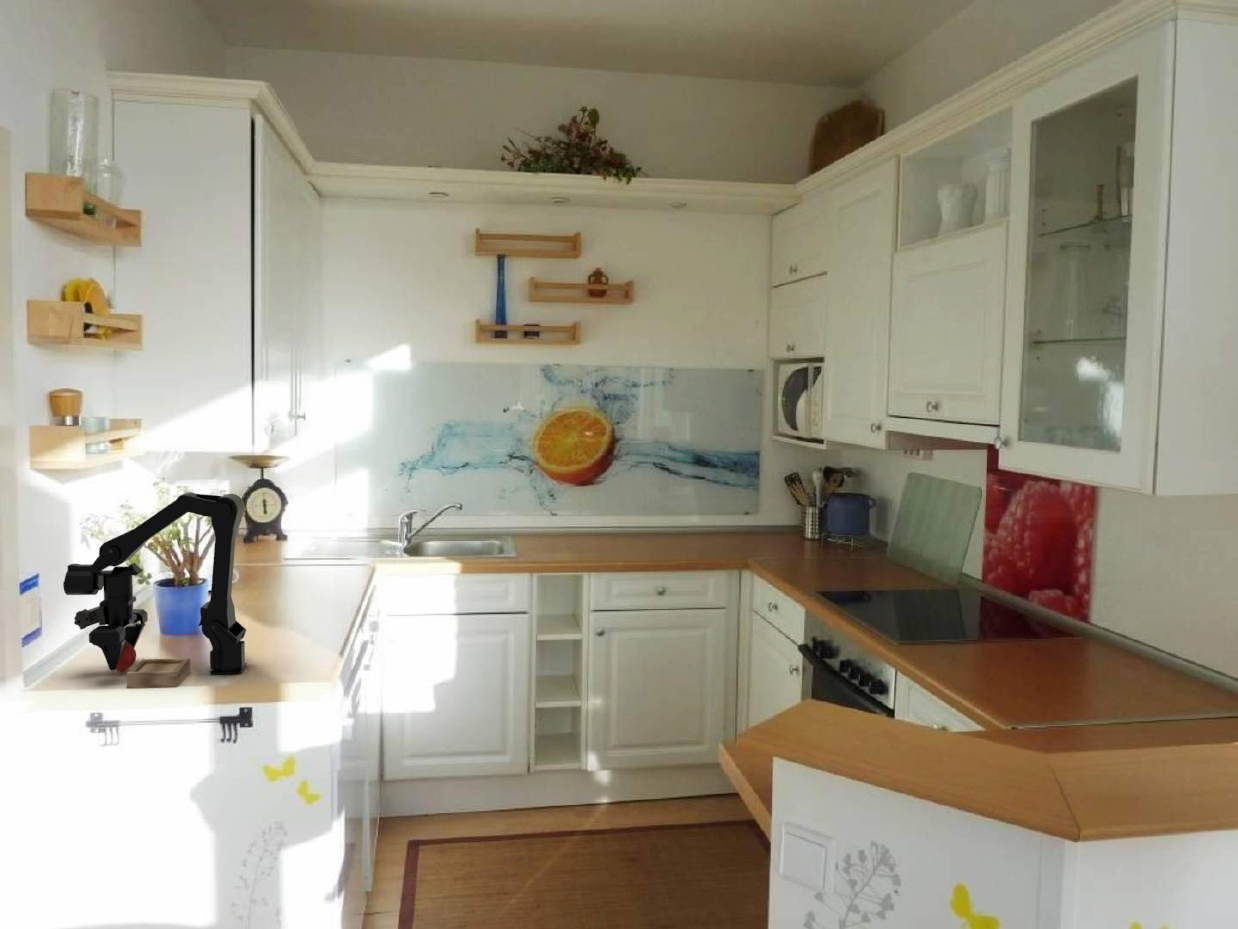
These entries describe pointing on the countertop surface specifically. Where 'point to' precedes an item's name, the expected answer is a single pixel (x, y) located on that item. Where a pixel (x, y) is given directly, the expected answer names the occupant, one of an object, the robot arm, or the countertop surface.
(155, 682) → the brown wooden tray
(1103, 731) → the countertop surface
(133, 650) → the onion
